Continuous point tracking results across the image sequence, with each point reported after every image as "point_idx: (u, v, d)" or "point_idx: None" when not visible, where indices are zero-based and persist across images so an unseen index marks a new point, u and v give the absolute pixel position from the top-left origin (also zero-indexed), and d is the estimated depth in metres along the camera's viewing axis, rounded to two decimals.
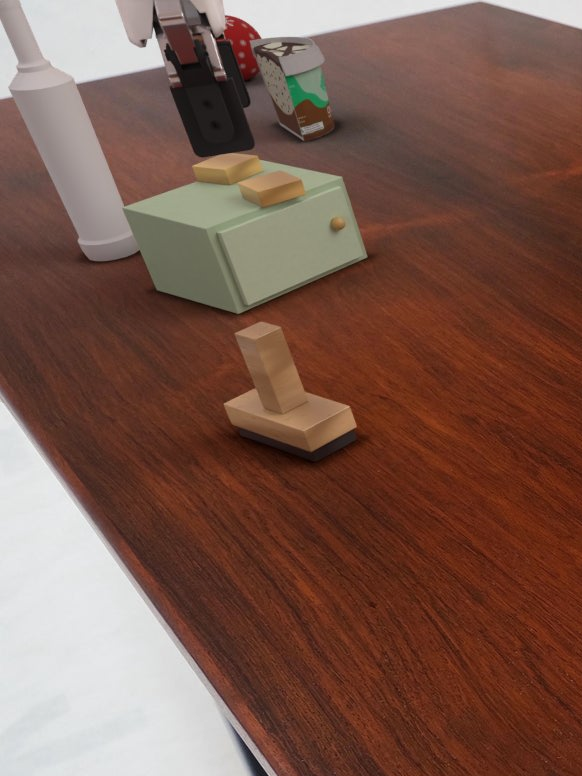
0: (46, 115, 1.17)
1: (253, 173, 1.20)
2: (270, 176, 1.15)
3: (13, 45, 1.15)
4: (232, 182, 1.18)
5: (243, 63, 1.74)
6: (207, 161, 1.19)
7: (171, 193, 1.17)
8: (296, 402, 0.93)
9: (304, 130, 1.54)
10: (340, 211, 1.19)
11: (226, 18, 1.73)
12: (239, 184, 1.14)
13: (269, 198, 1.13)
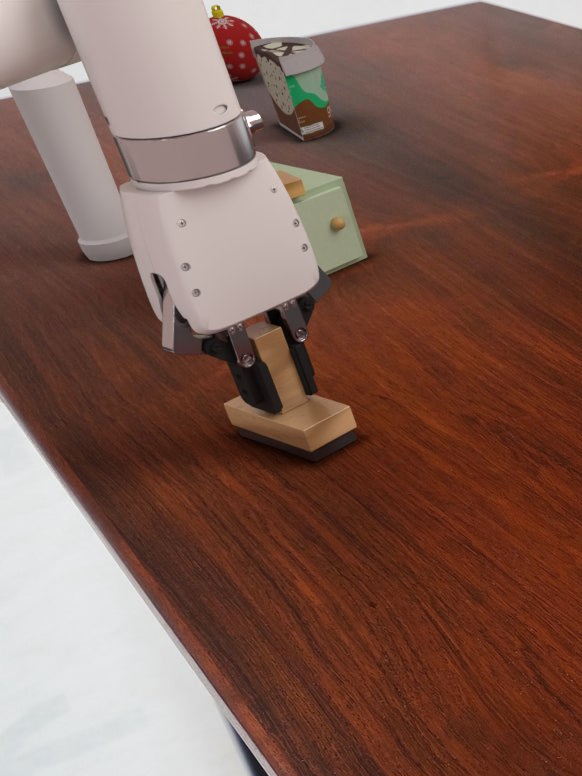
0: (46, 115, 1.17)
1: None
2: None
3: None
4: None
5: (243, 63, 1.74)
6: None
7: None
8: (296, 402, 0.93)
9: (305, 130, 1.54)
10: (340, 211, 1.19)
11: (226, 18, 1.73)
12: None
13: None
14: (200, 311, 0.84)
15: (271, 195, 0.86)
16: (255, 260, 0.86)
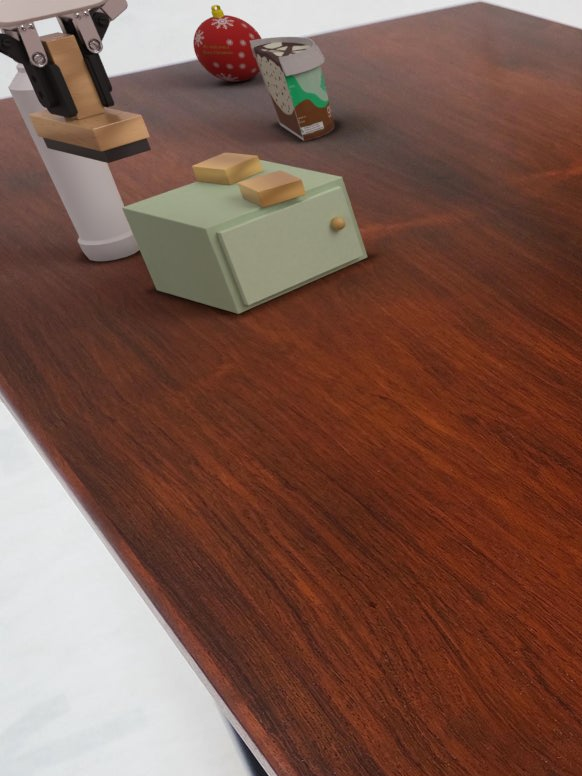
0: None
1: (253, 173, 1.20)
2: (270, 176, 1.15)
3: None
4: (232, 182, 1.18)
5: (243, 63, 1.74)
6: (207, 161, 1.19)
7: (171, 193, 1.17)
8: (93, 111, 1.02)
9: (305, 130, 1.54)
10: (340, 211, 1.19)
11: (226, 18, 1.73)
12: (239, 184, 1.14)
13: (269, 198, 1.13)
14: None
15: None
16: None
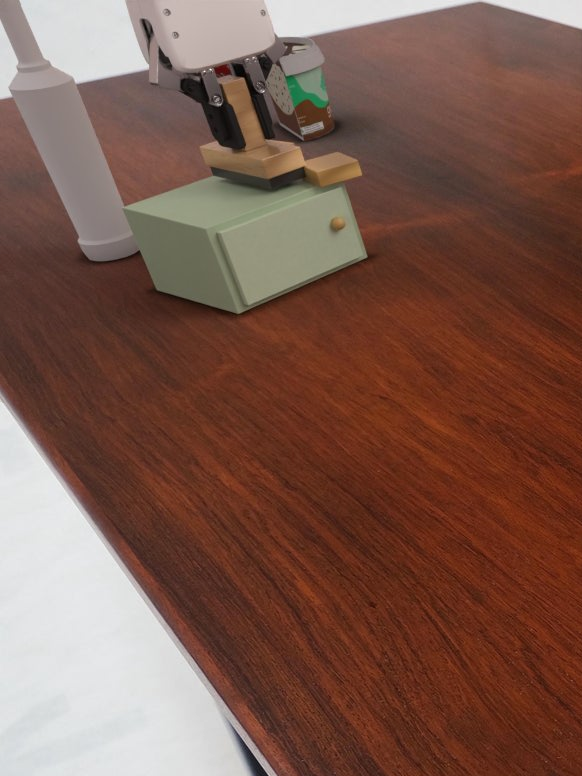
0: (46, 115, 1.17)
1: None
2: (327, 158, 1.19)
3: (13, 45, 1.15)
4: None
5: None
6: None
7: (171, 193, 1.17)
8: (257, 143, 1.16)
9: (305, 130, 1.54)
10: (340, 211, 1.19)
11: None
12: None
13: (327, 178, 1.17)
14: (178, 51, 1.08)
15: None
16: (222, 15, 1.10)
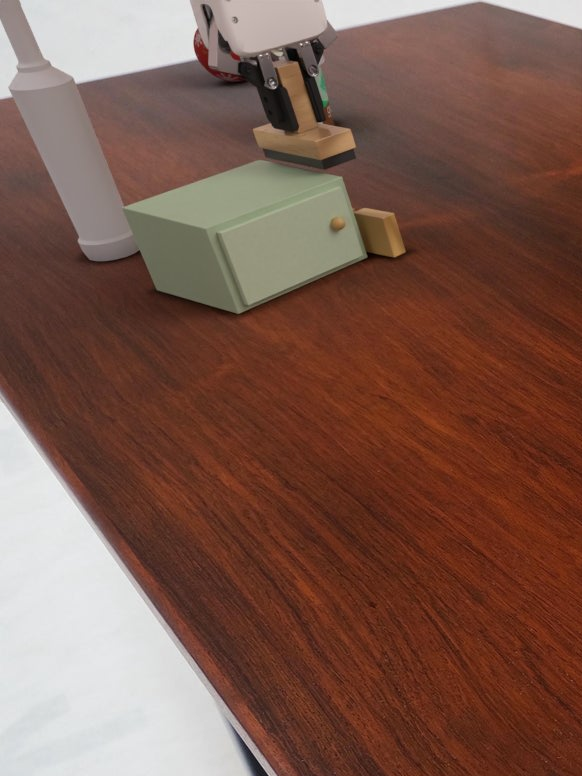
0: (46, 115, 1.17)
1: None
2: None
3: (13, 45, 1.15)
4: None
5: None
6: None
7: (171, 193, 1.17)
8: (309, 125, 1.20)
9: None
10: (340, 211, 1.19)
11: None
12: (366, 208, 1.24)
13: (389, 223, 1.22)
14: (237, 35, 1.12)
15: None
16: (279, 1, 1.14)
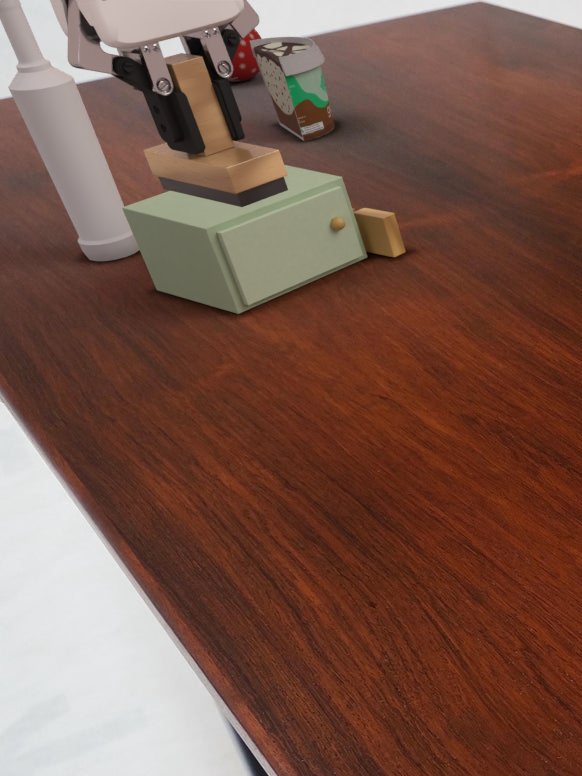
0: (46, 115, 1.17)
1: None
2: None
3: (13, 45, 1.15)
4: None
5: (243, 63, 1.74)
6: None
7: (171, 193, 1.17)
8: (221, 145, 0.86)
9: (305, 130, 1.54)
10: (340, 211, 1.19)
11: None
12: (366, 208, 1.24)
13: (390, 223, 1.22)
14: (108, 18, 0.78)
15: None
16: None
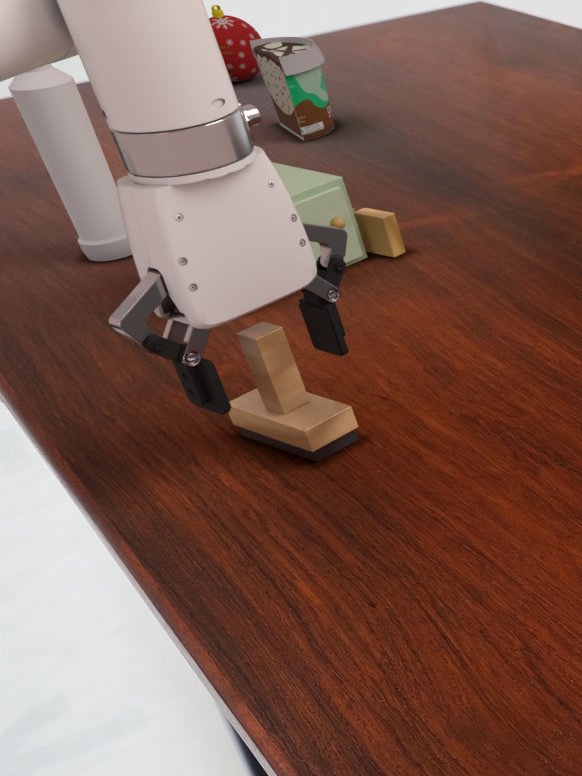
0: (46, 115, 1.17)
1: None
2: None
3: None
4: None
5: (243, 63, 1.74)
6: None
7: None
8: (298, 402, 0.93)
9: (305, 130, 1.54)
10: (340, 211, 1.19)
11: (226, 18, 1.73)
12: (366, 208, 1.24)
13: (390, 223, 1.22)
14: (197, 306, 0.84)
15: (269, 190, 0.86)
16: (252, 255, 0.86)
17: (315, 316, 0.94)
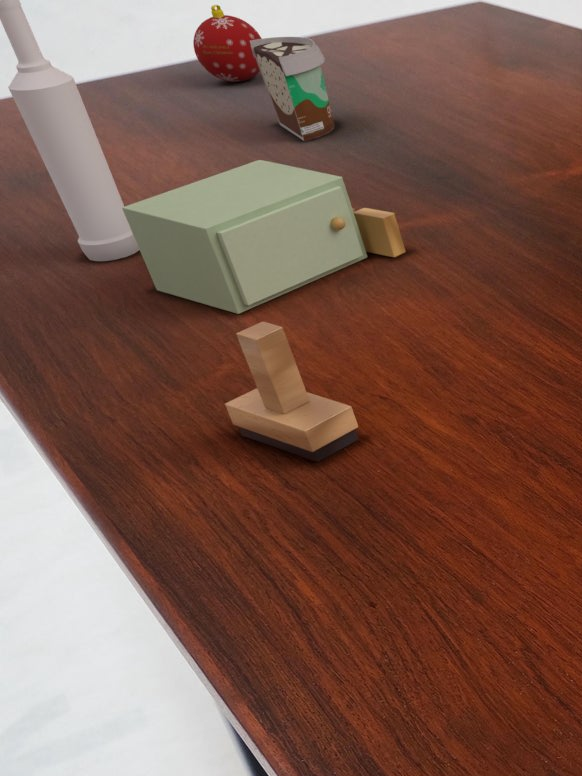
0: (46, 115, 1.17)
1: None
2: None
3: (13, 45, 1.15)
4: None
5: (243, 63, 1.74)
6: None
7: (171, 193, 1.17)
8: (298, 402, 0.93)
9: (305, 130, 1.54)
10: (340, 211, 1.19)
11: (226, 18, 1.73)
12: (366, 208, 1.24)
13: (390, 223, 1.22)
14: None
15: None
16: None
17: None
